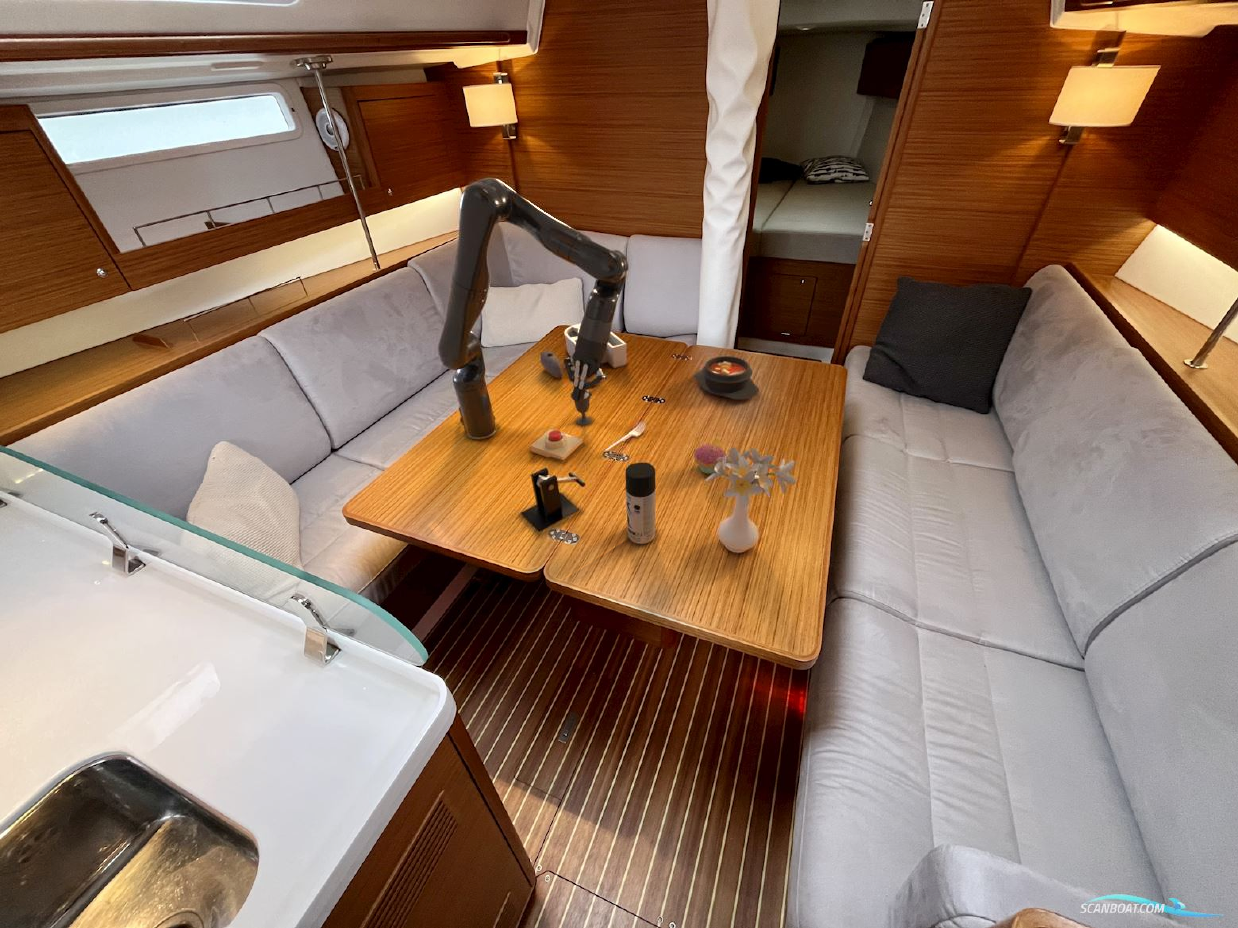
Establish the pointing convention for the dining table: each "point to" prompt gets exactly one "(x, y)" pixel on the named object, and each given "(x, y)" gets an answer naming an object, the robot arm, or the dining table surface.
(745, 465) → the flower vase
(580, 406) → the sundae
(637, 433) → the fork
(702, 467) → the cupcake
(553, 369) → the perforated stone tool
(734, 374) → the casserole
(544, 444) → the button housing
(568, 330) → the white compartment organizer
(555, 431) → the button
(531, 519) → the bracket
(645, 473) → the spray can
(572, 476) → the lever
